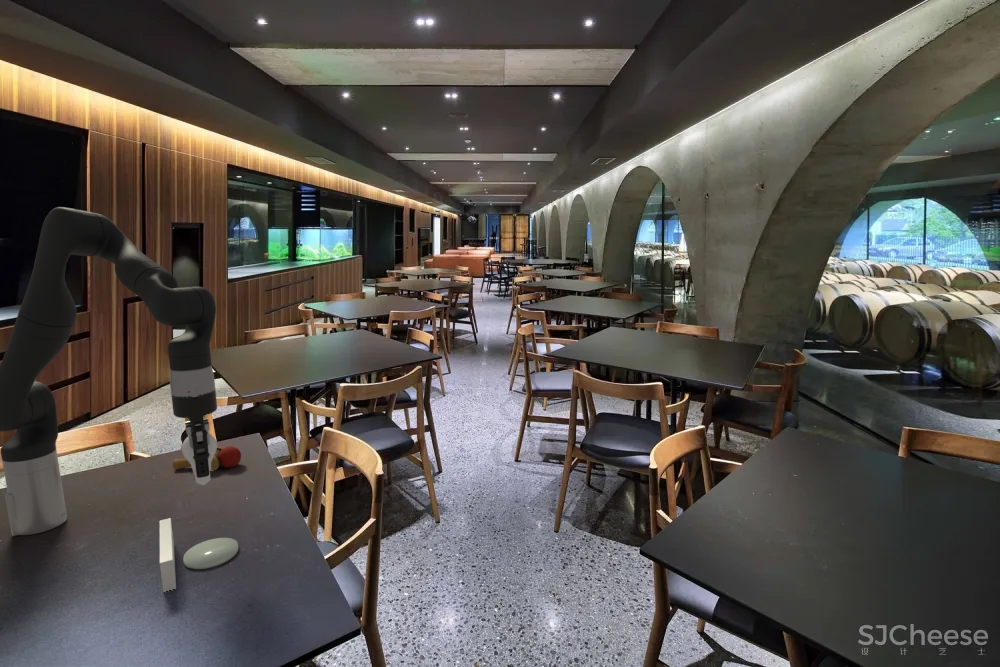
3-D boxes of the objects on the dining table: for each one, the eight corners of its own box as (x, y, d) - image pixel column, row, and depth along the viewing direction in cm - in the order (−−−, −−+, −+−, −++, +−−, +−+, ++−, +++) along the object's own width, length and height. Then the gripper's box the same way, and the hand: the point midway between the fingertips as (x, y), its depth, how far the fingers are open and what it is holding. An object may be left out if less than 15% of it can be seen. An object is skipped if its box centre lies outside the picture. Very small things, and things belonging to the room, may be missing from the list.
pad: (184, 575, 103) (184, 571, 103) (182, 550, 111) (182, 547, 111) (241, 558, 108) (241, 555, 108) (235, 536, 116) (235, 533, 116)
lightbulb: (210, 491, 104) (204, 437, 102) (179, 491, 104) (173, 437, 102) (226, 478, 110) (221, 427, 108) (197, 477, 110) (192, 427, 108)
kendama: (169, 480, 148) (236, 468, 149) (166, 458, 148) (232, 446, 149) (183, 473, 155) (246, 462, 157) (180, 452, 155) (243, 441, 157)
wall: (163, 592, 98) (159, 563, 97) (162, 546, 113) (159, 520, 112) (176, 589, 99) (172, 559, 98) (173, 543, 114) (170, 517, 113)
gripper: (170, 384, 108) (179, 463, 111) (171, 401, 96) (181, 489, 99) (212, 379, 112) (219, 455, 115) (218, 395, 100) (226, 479, 103)
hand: (202, 470), depth 107 cm, fingers closed on lightbulb, 5 cm apart
